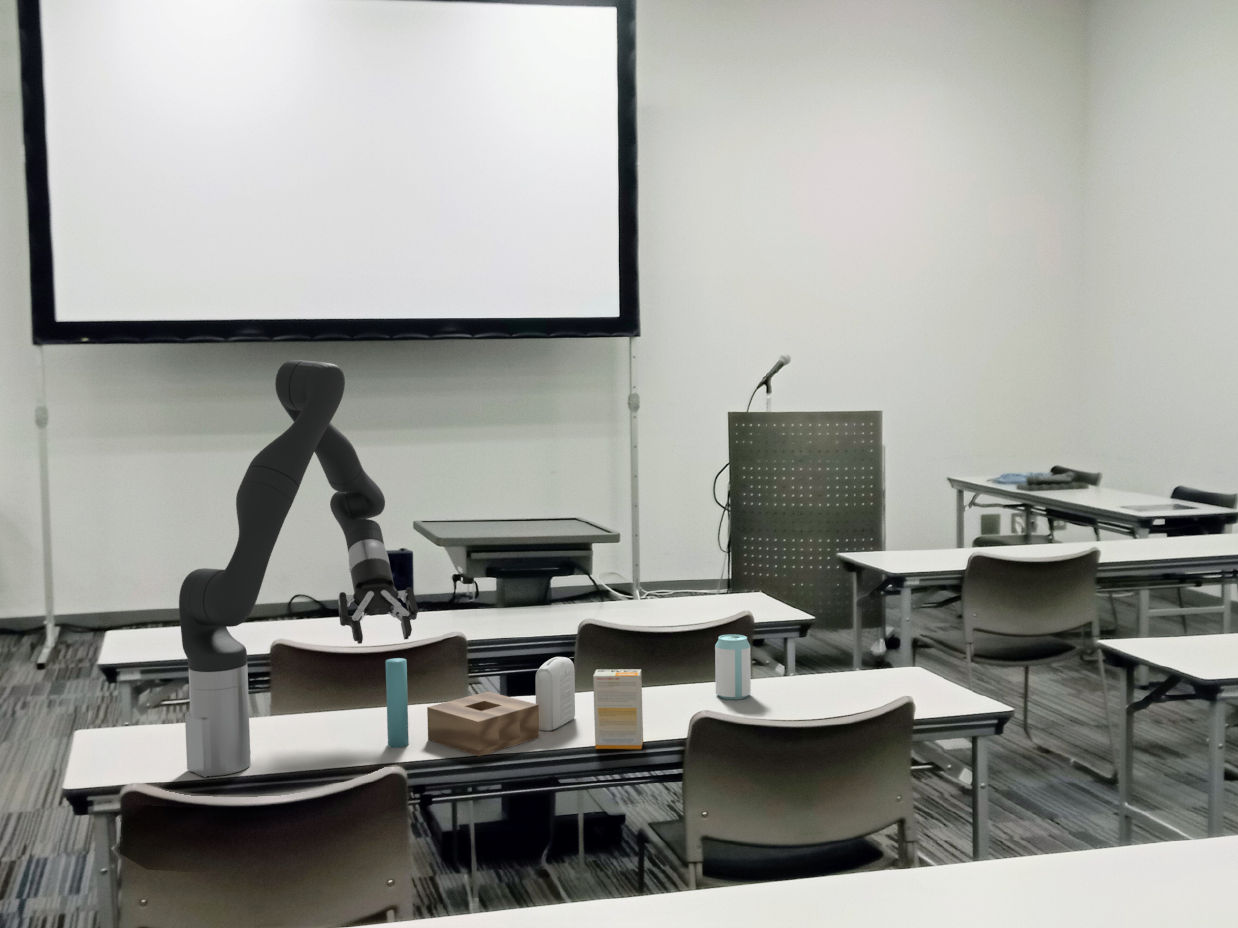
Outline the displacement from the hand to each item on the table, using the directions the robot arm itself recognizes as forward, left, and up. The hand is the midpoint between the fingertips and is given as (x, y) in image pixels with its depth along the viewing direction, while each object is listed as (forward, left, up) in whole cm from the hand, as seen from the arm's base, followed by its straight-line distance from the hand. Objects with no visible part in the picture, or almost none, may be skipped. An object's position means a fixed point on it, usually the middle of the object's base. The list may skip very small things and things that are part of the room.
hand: (384, 639), depth 212 cm
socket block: (+8, -18, -17) cm, 26 cm away
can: (+60, -34, -17) cm, 71 cm away
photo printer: (+23, -21, -17) cm, 36 cm away
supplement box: (+21, -39, -17) cm, 48 cm away
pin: (-4, -9, -17) cm, 20 cm away
